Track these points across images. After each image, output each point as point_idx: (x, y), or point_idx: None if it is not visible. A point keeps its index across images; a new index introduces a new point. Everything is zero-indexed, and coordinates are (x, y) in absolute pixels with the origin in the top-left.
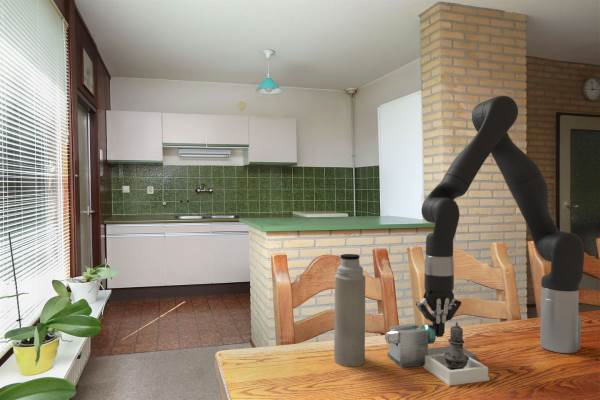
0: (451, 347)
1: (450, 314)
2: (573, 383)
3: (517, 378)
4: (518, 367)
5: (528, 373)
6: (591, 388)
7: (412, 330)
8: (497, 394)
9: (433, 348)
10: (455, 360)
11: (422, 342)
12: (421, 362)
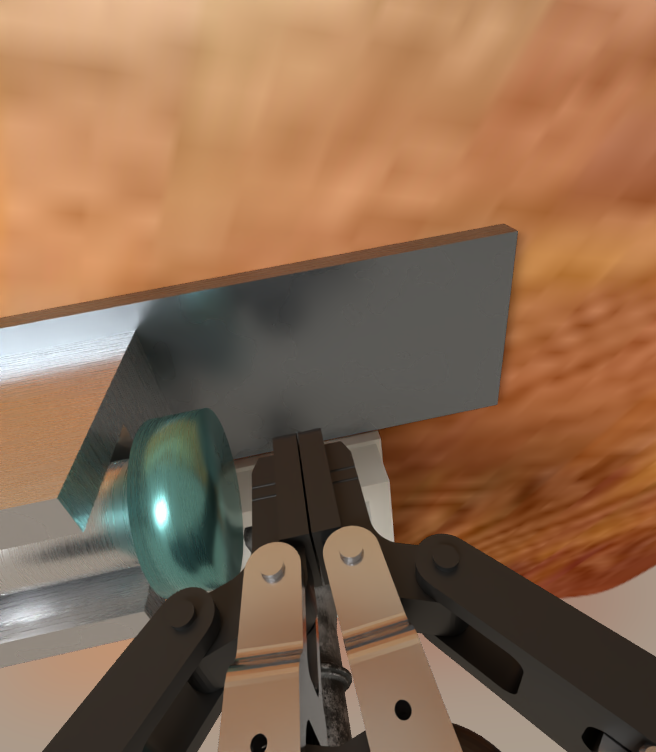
0: None
1: (468, 661)
2: (627, 554)
3: (497, 539)
4: (588, 467)
5: (571, 508)
6: (638, 572)
7: (10, 588)
8: None
9: (291, 288)
10: None
11: None
12: None
